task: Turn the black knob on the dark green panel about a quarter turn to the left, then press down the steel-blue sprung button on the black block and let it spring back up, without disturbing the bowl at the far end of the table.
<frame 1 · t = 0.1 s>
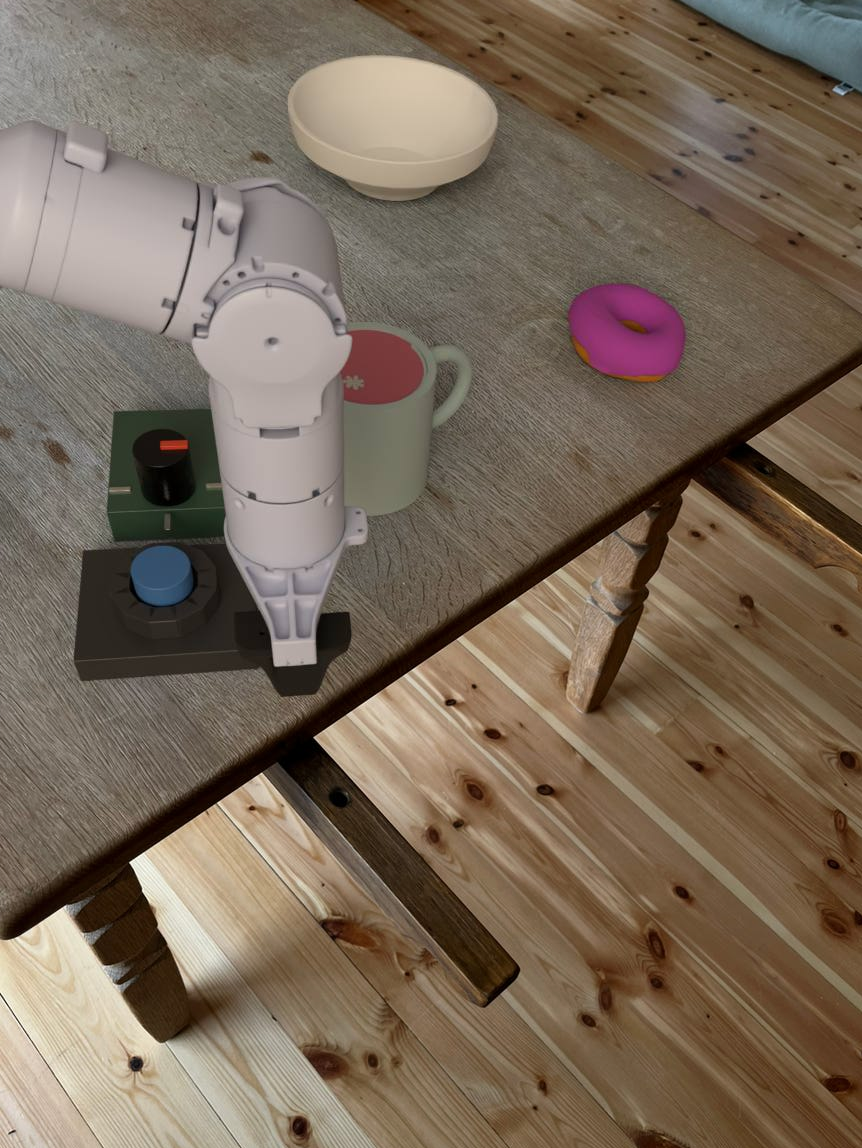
hand: (294, 634, 59), 8 cm above the table, tool pointing down, fingers open, 7 cm apart
donut: (620, 354, 90), on the table
knob: (164, 466, 70), point 5 cm above the table, hinge at 0.0°
bowl: (391, 179, 103), on the table
mug: (392, 461, 80), on the table
plunger: (162, 575, 65), point 4 cm above the table, slide at 0.1 cm
panel: (203, 486, 76), on the table
button block: (172, 619, 69), on the table
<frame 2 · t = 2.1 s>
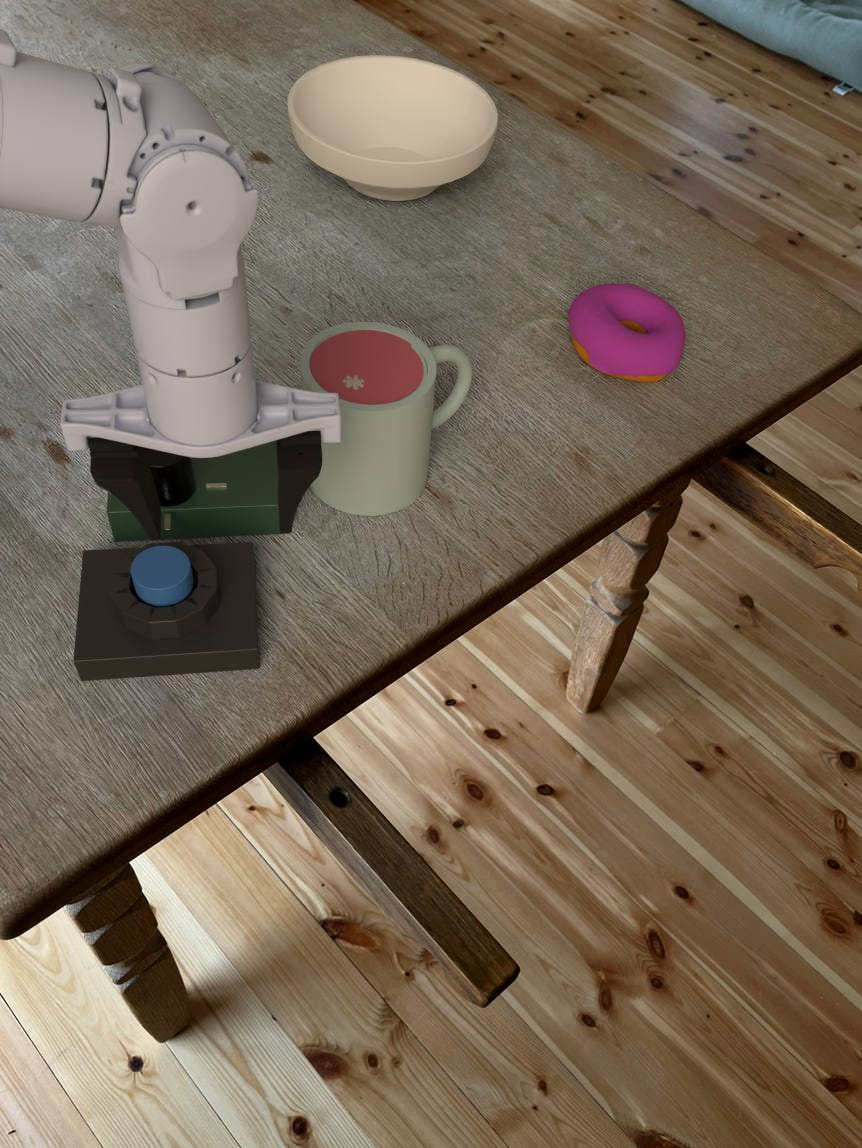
hand: (220, 524, 63), 8 cm above the table, tool pointing down, fingers open, 7 cm apart
nothing on the table moved.
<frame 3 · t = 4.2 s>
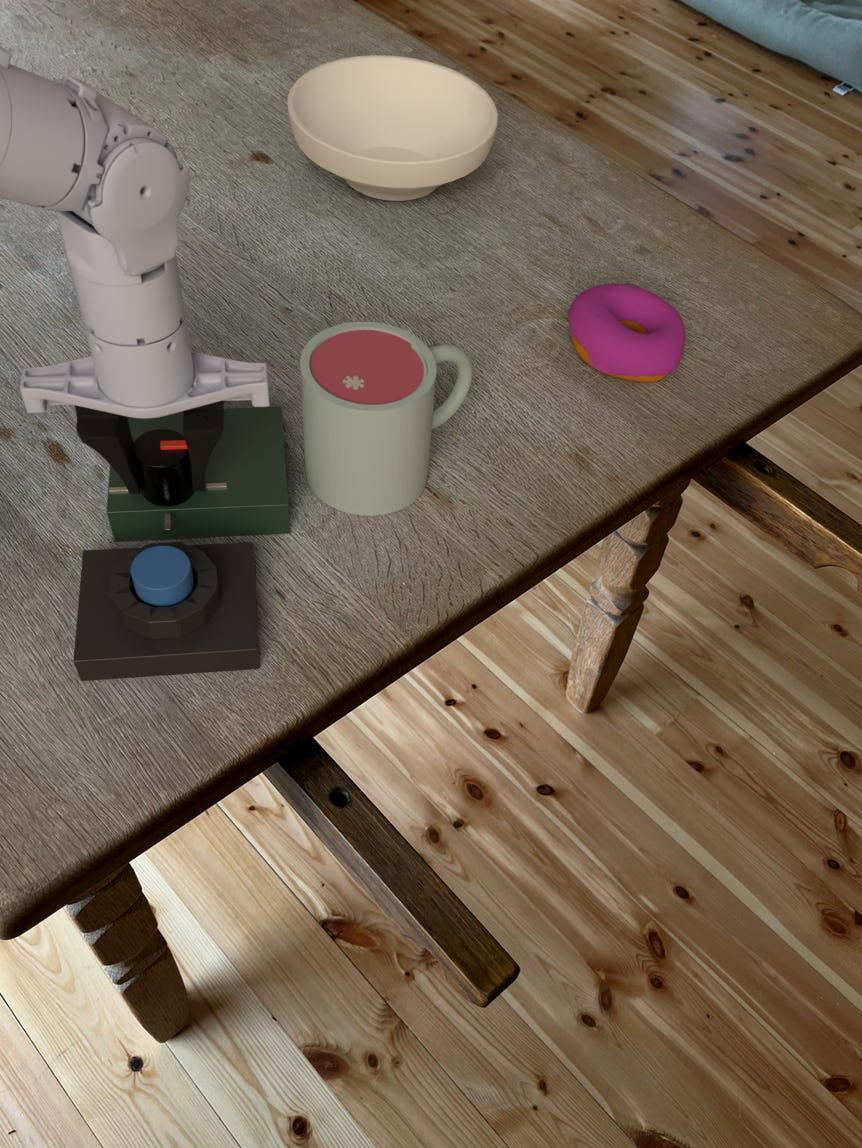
hand: (167, 482, 71), 4 cm above the table, tool pointing down, fingers closed on knob, 3 cm apart
knob: (164, 466, 70), point 5 cm above the table, hinge at 0.1°, touching gripper
everything else where it was.
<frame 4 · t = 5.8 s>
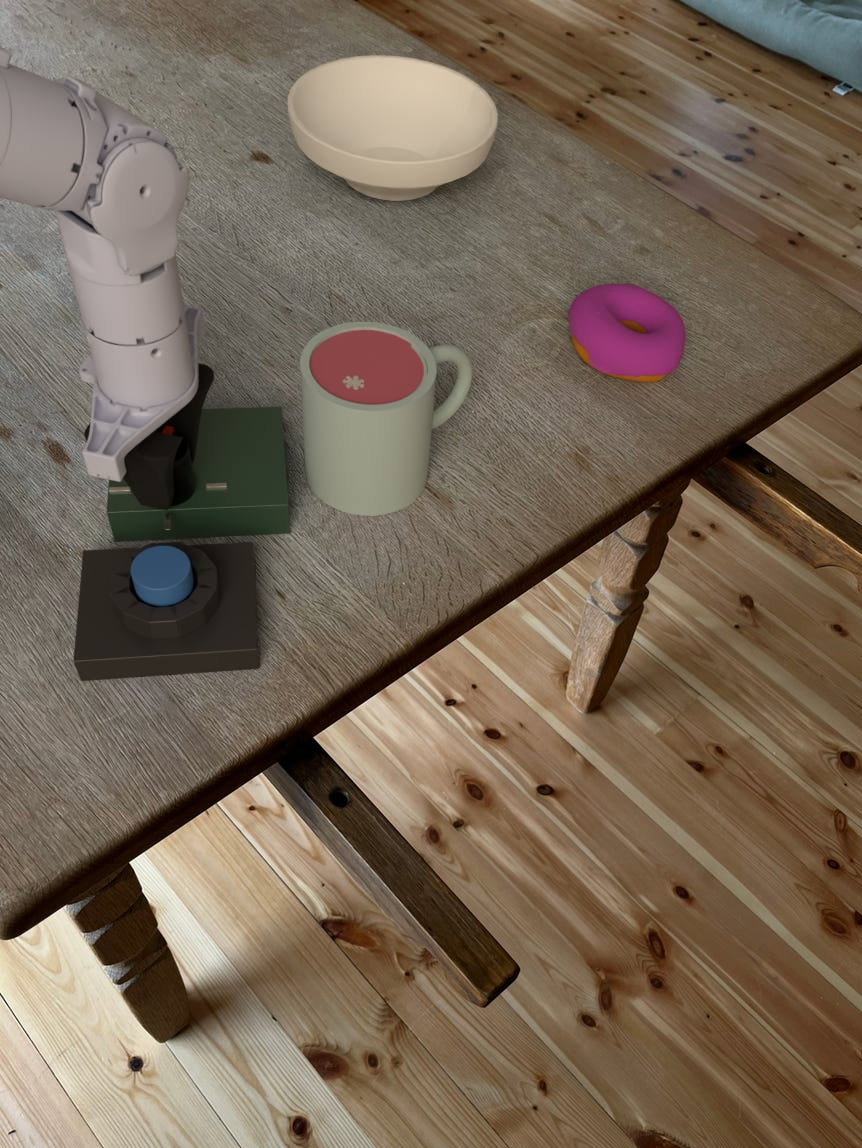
hand: (167, 481, 71), 4 cm above the table, tool pointing down, fingers closed on knob, 3 cm apart
knob: (164, 466, 70), point 5 cm above the table, hinge at 70.0°, touching gripper
everything else where it was.
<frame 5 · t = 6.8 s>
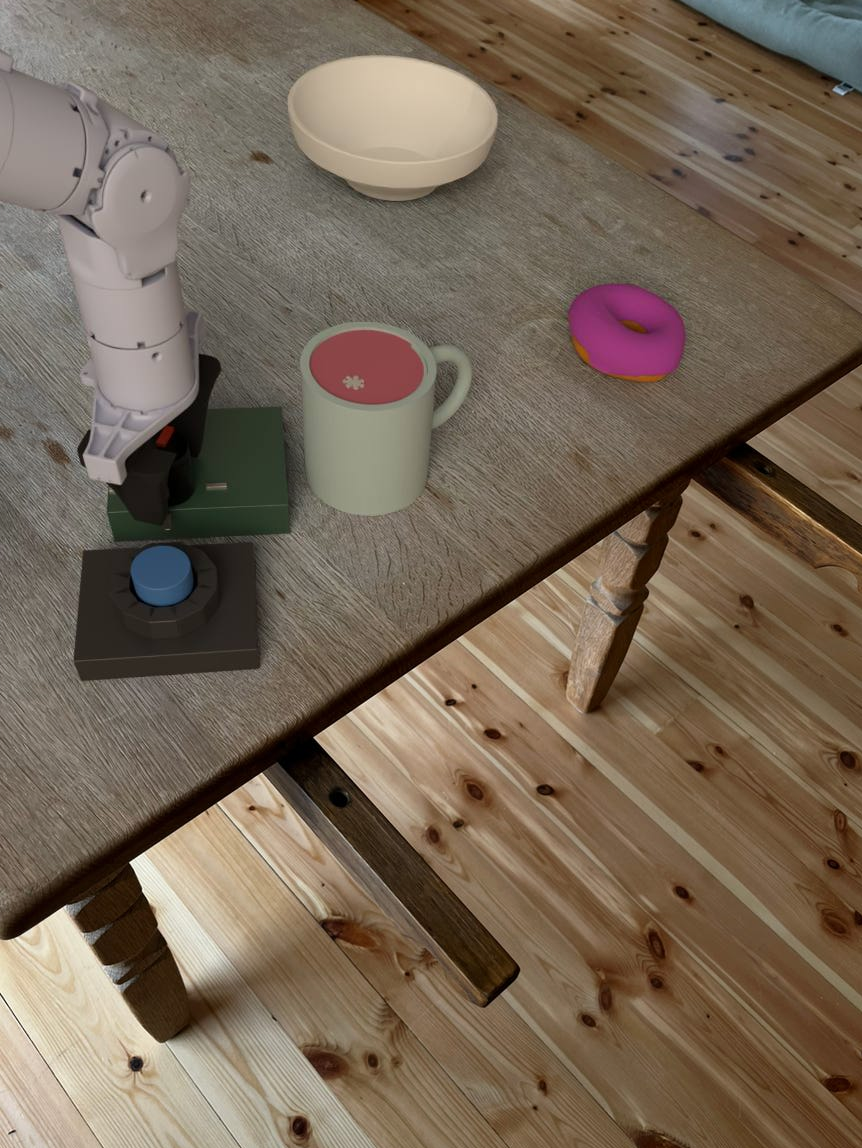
hand: (167, 484, 71), 3 cm above the table, tool pointing down, fingers open, 6 cm apart
knob: (164, 466, 70), point 5 cm above the table, hinge at 70.0°
everything else where it was.
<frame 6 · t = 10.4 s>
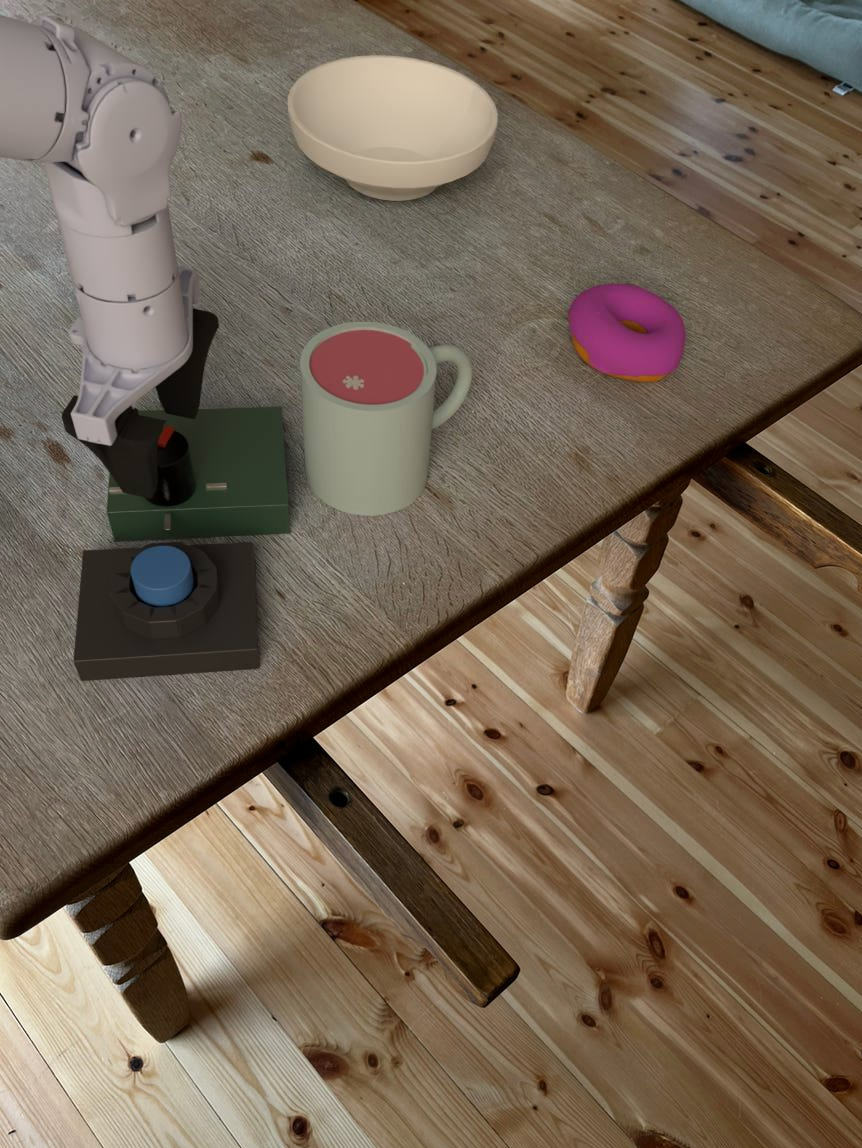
hand: (161, 451, 69), 6 cm above the table, tool pointing down, fingers open, 7 cm apart
nothing on the table moved.
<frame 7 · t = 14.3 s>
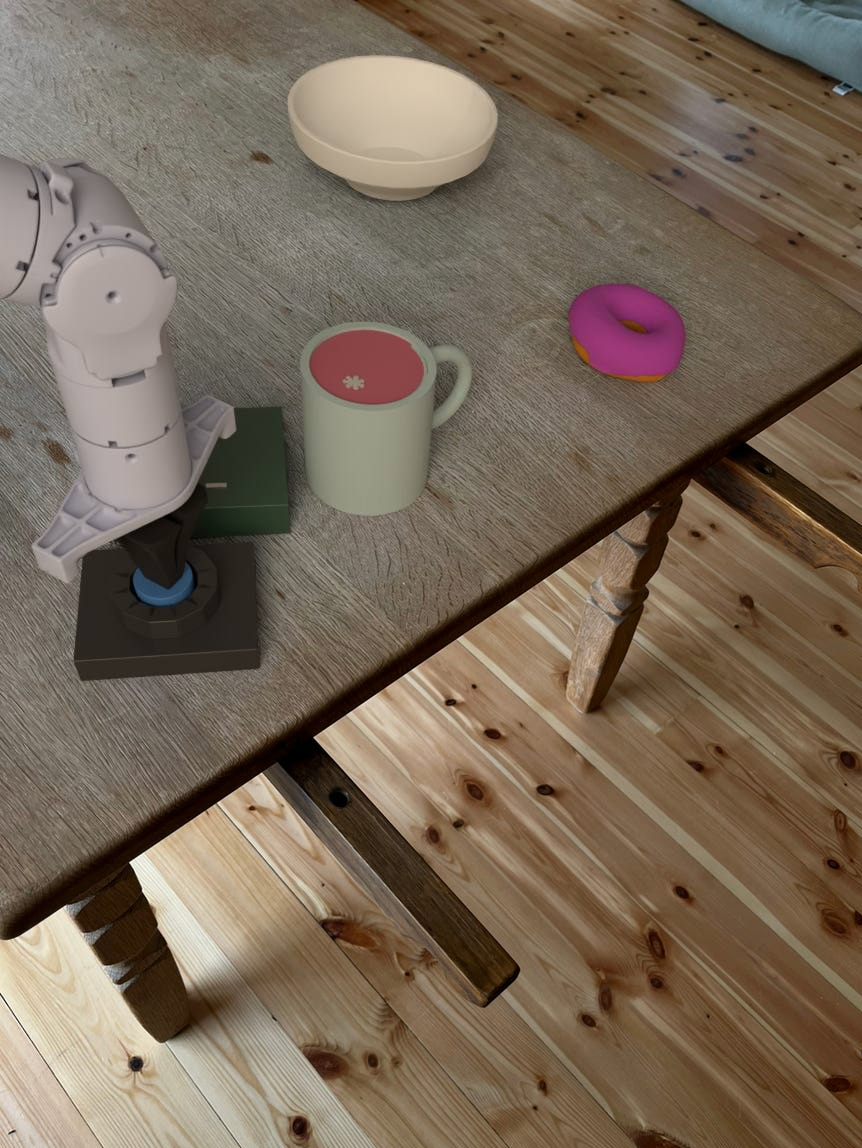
hand: (163, 576, 65), 4 cm above the table, tool pointing down, fingers closed, pressing on plunger
plunger: (164, 585, 66), point 4 cm above the table, slide at -0.8 cm, touching gripper
everything else where it was.
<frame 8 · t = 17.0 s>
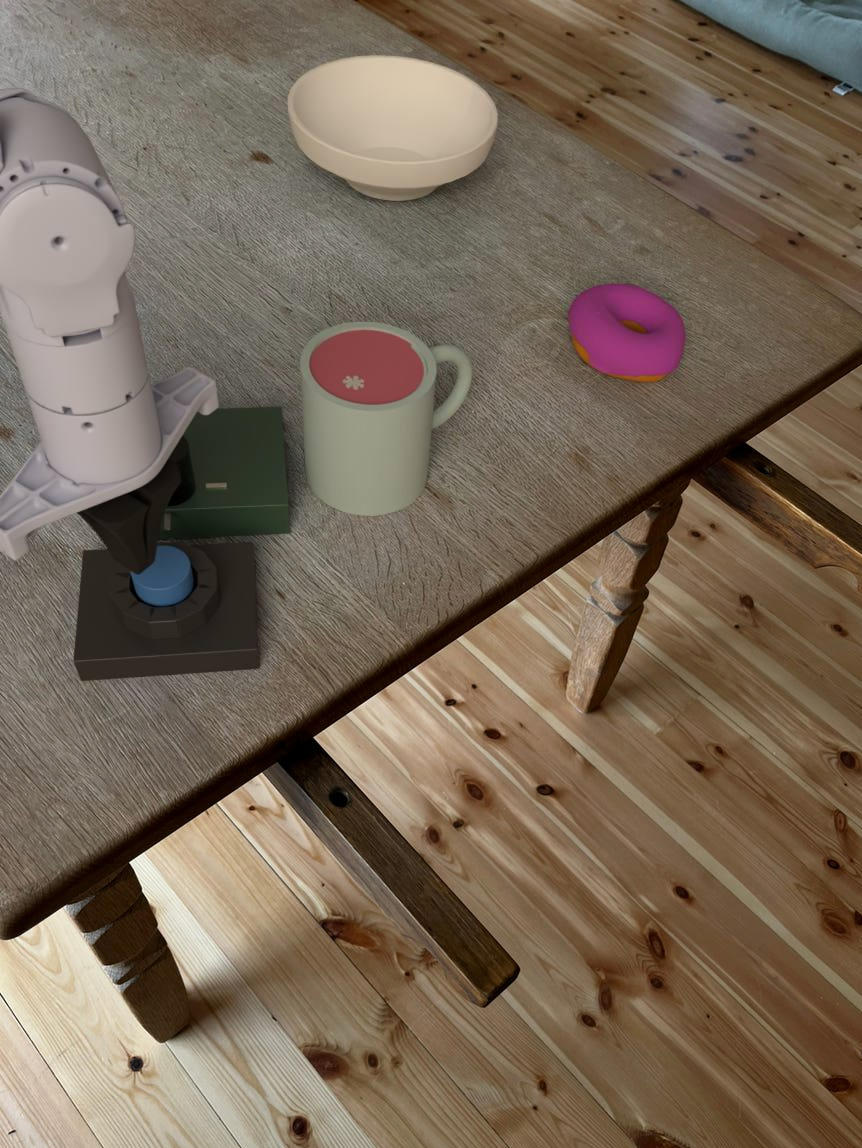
hand: (134, 560, 61), 8 cm above the table, tool pointing down, fingers closed
plunger: (162, 575, 65), point 4 cm above the table, slide at 0.1 cm
everything else where it was.
at the end: knob at +70° (first picture: +0°); plunger pushed in 1.2 cm at the most during the clip, back to where it started at the end; bowl moved 0.2 cm from its start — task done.
